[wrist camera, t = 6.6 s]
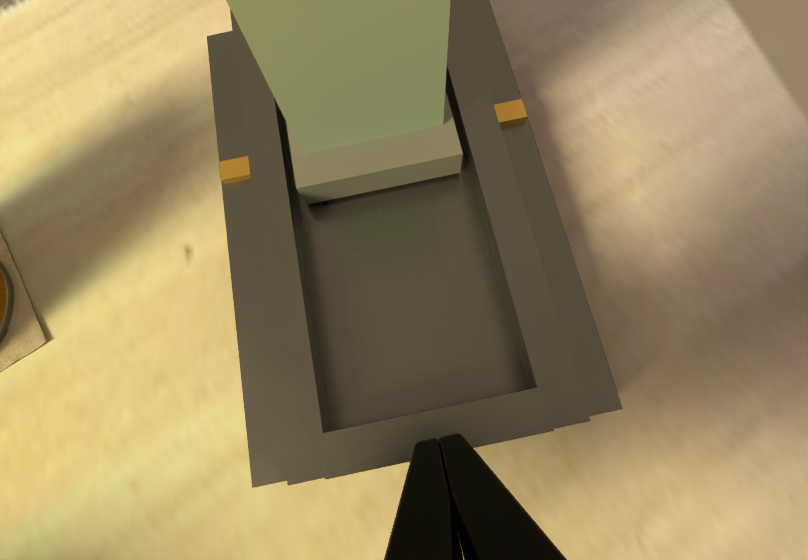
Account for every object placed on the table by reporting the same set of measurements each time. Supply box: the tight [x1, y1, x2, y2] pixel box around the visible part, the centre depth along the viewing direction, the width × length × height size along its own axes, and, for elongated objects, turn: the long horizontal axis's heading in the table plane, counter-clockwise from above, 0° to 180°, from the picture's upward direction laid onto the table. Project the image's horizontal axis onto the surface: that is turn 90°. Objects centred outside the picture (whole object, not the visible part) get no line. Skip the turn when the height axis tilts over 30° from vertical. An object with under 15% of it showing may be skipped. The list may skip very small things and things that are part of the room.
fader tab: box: [226, 0, 463, 205], centre depth 12 cm, size 5×6×11 cm
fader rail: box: [207, 0, 622, 488], centre depth 17 cm, size 18×12×4 cm, turn 12°
